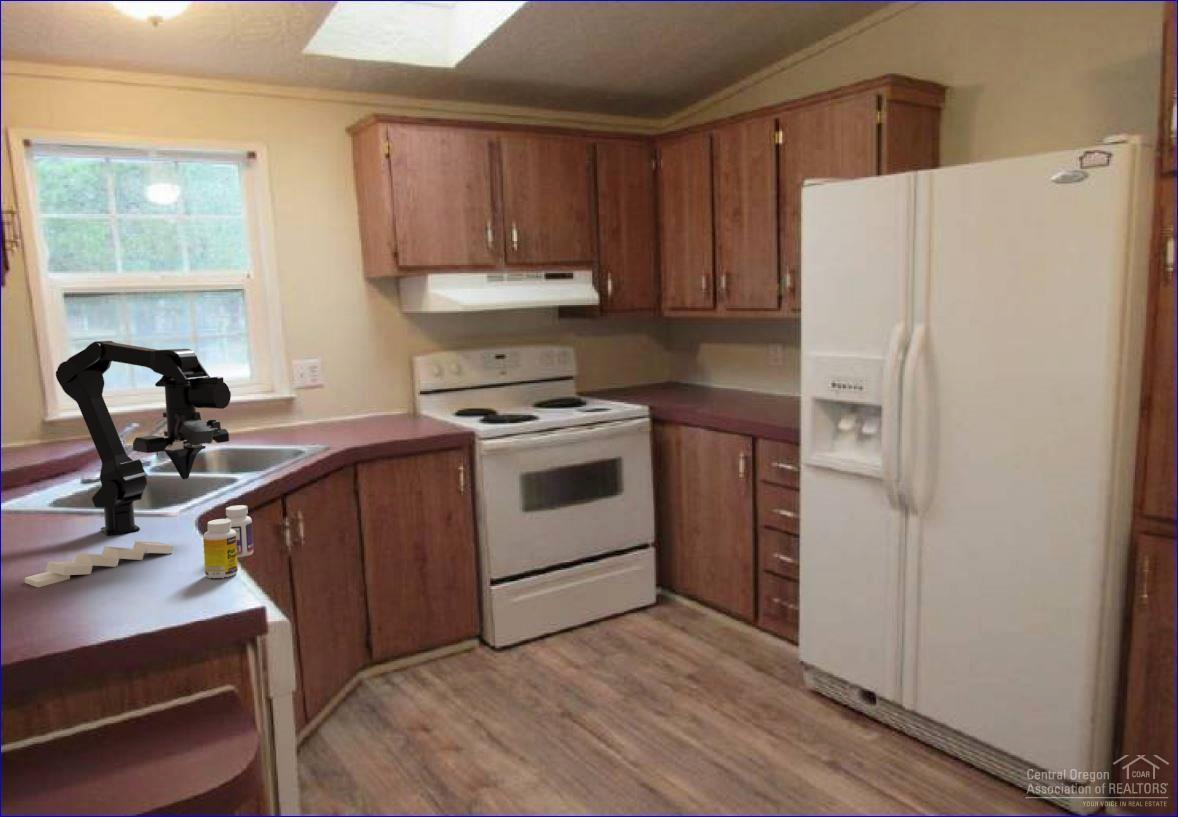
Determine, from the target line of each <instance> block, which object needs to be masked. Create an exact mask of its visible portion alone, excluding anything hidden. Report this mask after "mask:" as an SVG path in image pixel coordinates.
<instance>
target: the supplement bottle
mask: <svg viewBox="0 0 1178 817" xmlns="http://www.w3.org/2000/svg"><path fill="white" fill-rule="evenodd" d="M206 529H207V531H206V532H204V534H203V536H202V538H203V556H204V558H203V559H204V572H205V576H206V578H208V579H211V578H214V579H213V580H216V579H215V578H222V579H225V578H224V577H228V578H230V577H229V576H231V577H233V576H235V575H237V573H238V570H239V568H238V567H239V566H238V558H237V541H236V531H235V530H233V529H231V520H229V519H226V518H218V519H213V520H210V521H208V522H207V528H206ZM234 574H235V575H234ZM232 575H233V576H232Z"/></svg>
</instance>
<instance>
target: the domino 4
mask: <svg viewBox="0 0 1178 817" xmlns="http://www.w3.org/2000/svg"><path fill="white" fill-rule="evenodd" d="M102 550H103V551H102V553H101V555H106V556H109V557H113V558H119V560H120V559H123V560H124V559H125V560H134V561H135V560H139V561H143V559H144V556H145V552H142V551H138V550H134V549H133V548H129V547H128V548H127V547H116V546H107V545H106V546H103V549H102Z"/></svg>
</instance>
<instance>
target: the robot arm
mask: <svg viewBox="0 0 1178 817" xmlns="http://www.w3.org/2000/svg"><path fill="white" fill-rule="evenodd" d="M112 362H115V363H121V364H126V365H131V366H132V365H133V366H138V367H143V368H144V367H145V368H148V369H151V371H153V372H154V373H156V374H159V375H162V376H161V378H160V379H159V380H158V381H157V382H156V383H154V385H155V387H160V388H161V387H163V388H164V396H165V410H166V411H165V412H162V417H163V418H166V427H167V430H166V431H163V436H164V437H163V436H157V435H144V436H138V437H135V439H134V440H133V442H132V450H133V452H138V453H139V452H140V453H145V454H154V453H158V452H159V453H161V452H165V453H166V455H167V456H168V458H169V459H170V461H171V462H172V464H173V466H174V467H175V469H176V471H177V472H178V474H179V476H180V478H181V479H182V480H189V477H190V474H191V471H192V468H193V466H194V462H195V460H196V458H197V456H198V454H199V453H201V451H202V450H205V449H206V447H207V446H206V445H203V444H207V445H209V444H212V443H213V441H214V442H215V443H216V444H220V443H226V442H230V432H229V431H228V429H226V428H222V427H221V421H220V420H219V419H217V418H215V419H214V418H213V419H208V420H206V421H203V420H202V418H201V414H200V411H197V409H212V410H213V409H214V410H215V409H216V410H217V409H219V410H223V409H225V408H227V407H228V406H229V404H230V402H231V399H232V398H231V397H232V396H231V395H232V394H231V392H232V391H231V390H230V388H229V386H228V384H226V383H225V381H224V377H223V376H212V377H211V376H210V375H209V373H208V372H207V371H206V369H205V368H204V365H202V363H201V362H200V361H199V359H198V356H197V355H196V353H195V351H194V350H192V349H191V348H172V349H171V348H170V349H168V348H167V349H156V348H155V349H154V348H150V347H149V348H148V347H143V346H136V345H130V344H125V343H119V342H114V341H111V340H104V341H103V340H98V341H97V340H96V341H93V342H91V343H90V344H89V345H87V347H86V348H85V349H83V350H81V351H79V352H77V353H76V354H75V353H74V355H72V356H70V357H69V358H67V360H66V361H62V362H61V363H59V365H58V367H57V369H56V370H55V377H56V380H57V382H58V384H59V385H60V387H61V388H62V390H63V392H64V393H65V394H66V395H67V396H69V397H70V398H71V399H72V400H73V401H75V402H76V403H77V405H78V408H79V410H80V413H81V415H82V417H83V420H84V422H85V425H86V428H87V429H88V432H89V434H90V437H91V440H92V441H93V444H94V447H95V449H96V451H97V454H98V457H99V459H100V461H101V468H100V474H99V480H100V483H101V487H100V488H99V489H98V490H97V492H96V493H94V495H93V496H92V498H91V501H92V503H93V506H94V507H95V508H101V509H102V508H103V512H104V513H103V514H104V526H102V527H100V530H101V531H102V532H103V533H104V534H105V535H106V534H107V535H106V536H112V534H113V535H117V534H118V533H119V534H123V533H130V532H137V531H140V530H141V528H140V527H139V526H138V525H136V524H135V522H136V521H135V510H134V508H135V507H134V502H136V501H141V500H142V497H143V496H144V491H145V490H146V487H147V485H148V481H147V476H148V474H147V472H146V471H145V469H144V466H143V462H142V460H141V459H135V460H133V459H132V458H131V457H130V456H128V454H127V453H126V450H125V448H124V444H123V443H122V440H121V439H120V436H119V433H118V430H117V427H115V423H114V421H113V418H112V415H111V414H110V412H109V409H108V407H107V404H106V402H105V400H104V396H103V392H104V386H105V378H104V374H105V373H106V372H107V371H108V370H109V369H110V367H111V364H112Z"/></svg>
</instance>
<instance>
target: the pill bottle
mask: <svg viewBox="0 0 1178 817" xmlns="http://www.w3.org/2000/svg"><path fill="white" fill-rule="evenodd" d="M248 511H249V510H248V505H245V504H244V505H243V504H241V505H240V504H239V505H230V506H227V507H226V508H225V516H226V518H225V519H229V520H231V529H233V530H235V531H236V541H237V559H239V558H240V559H241V558H245V557H249V556H251V555H253V553H254V537H253V535H254V534H253V533H254V532H253V520H252V518H251V516H248V514H249V512H248Z"/></svg>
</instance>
